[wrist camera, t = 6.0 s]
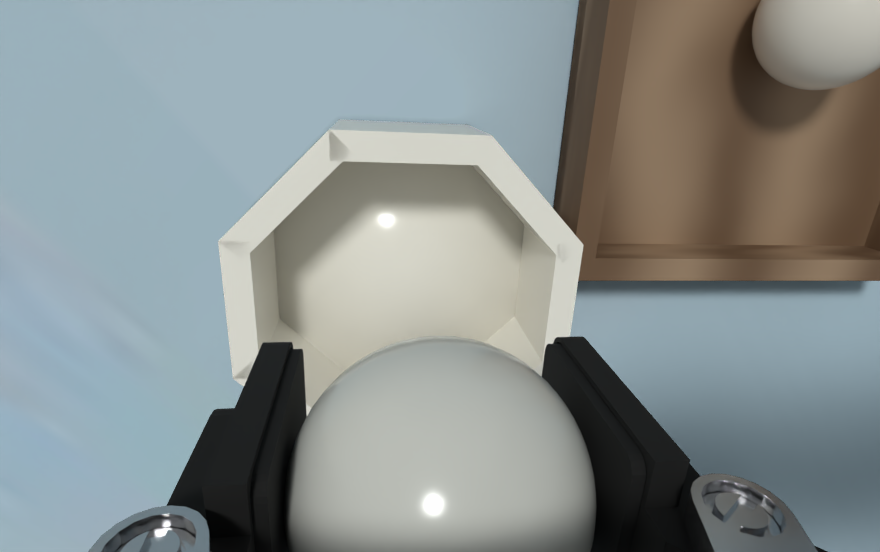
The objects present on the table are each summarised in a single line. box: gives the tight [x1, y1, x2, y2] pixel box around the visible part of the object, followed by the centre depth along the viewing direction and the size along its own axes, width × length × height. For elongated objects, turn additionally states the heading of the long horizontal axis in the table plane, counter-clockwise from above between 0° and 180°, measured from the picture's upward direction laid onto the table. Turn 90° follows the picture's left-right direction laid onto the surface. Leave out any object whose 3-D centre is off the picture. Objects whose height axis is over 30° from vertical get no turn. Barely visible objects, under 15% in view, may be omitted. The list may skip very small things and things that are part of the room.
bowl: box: [218, 119, 584, 416], centre depth 21 cm, size 13×13×5 cm
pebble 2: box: [752, 0, 880, 90], centre depth 19 cm, size 5×5×5 cm
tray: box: [553, 0, 880, 281], centre depth 21 cm, size 17×21×3 cm
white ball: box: [284, 336, 597, 552], centre depth 9 cm, size 5×5×5 cm
